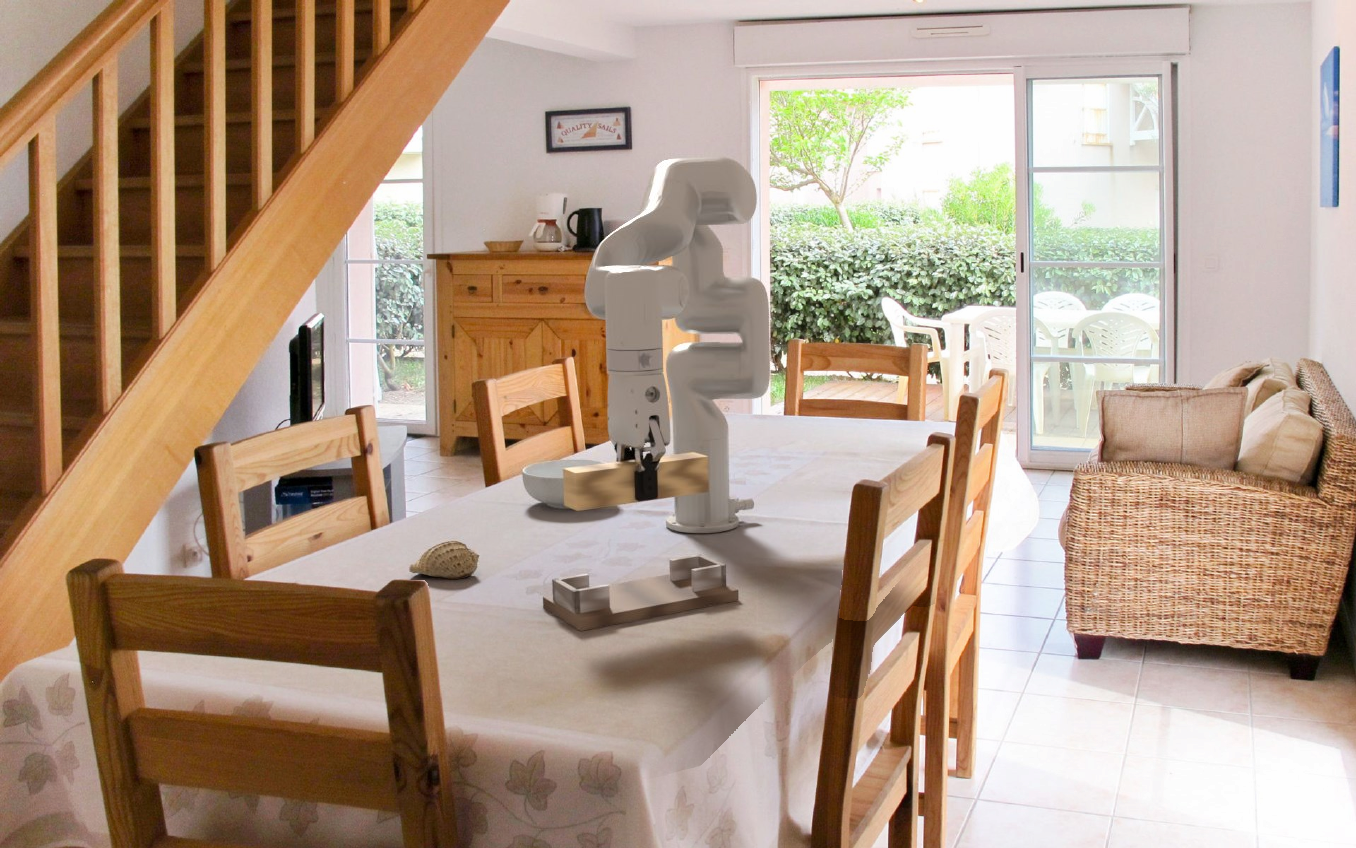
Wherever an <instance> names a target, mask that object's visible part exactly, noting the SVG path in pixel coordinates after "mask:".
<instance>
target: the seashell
mask: <svg viewBox="0 0 1356 848" xmlns="http://www.w3.org/2000/svg"><path fill="white" fill-rule="evenodd" d="M479 557H480V555H479V554H478V553H477V552H475V550H473V549H471V548H468V547H467V545H466V544H465V543H463V542H461V541H458V540H450V541H445V542H440V543H439V544H436V545H435V546H432V547H431V548H429V549H428V550H426V551H425V552H424V553H423V554H422V555H421V556H420V559H418V560H417V562H415V563H413V564H410V565H409V572H410V573H412V574H423V575H425V576H426V575H427V576H429V577H434V578H435V577H436V578H444V579H445V578H446V579H453V580H457V579H459V580H461V579H464V578H467V577H469V576H471V575H472V574H474V573H475V572H476V570H477V568H478V562H479Z"/></svg>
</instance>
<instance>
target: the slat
mask: <svg viewBox="0 0 1356 848" xmlns="http://www.w3.org/2000/svg"><path fill="white" fill-rule="evenodd" d="M634 471H638V470H637V463H636V459H635V460H627V461H619V462H616V461H613V462H605V463H603V464H595V465H587V466H579V467H571V468H563V482H564V505H565V506H567V507H569V508H570V509H572V510H574V511H575V512H576V511H577V512H579V511H586V510H593V509H600V508H606V507H613V506H614V507H615V506H621V505H628V504H635V503H642V502H649V501H655V500H662V499H668V498H669V499H670V498H674V497H678V496H685V495H692V494H699V493H706V492H709V471H708V456H705V455H702V454H698V453H694V452H691V453H683V454H675V455H673V454H668V455H663V456H662V458H661V459H660V461H659V469H658V470H657V475H658V497H657V498H656V499H651V500H644V501H637V500H636V499H635V475H634Z"/></svg>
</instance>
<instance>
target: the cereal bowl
mask: <svg viewBox="0 0 1356 848" xmlns="http://www.w3.org/2000/svg"><path fill="white" fill-rule="evenodd" d="M603 463H606V462H605V461H603V460H602V461H600V460H594V459H583V458H581V459H578V458H576V459H575V458H571V459H568V458H567V459H557V460H555V459H554V460H549V461H548V460H547V461H542V462H540V461H539V462H535V463H532V464H529V465H527V466H525V467H524V468H523V469H521V470H522V471H521V477H522V484H523V487H524V489H525V491H526V493H527V494H528V495H529V496H530V497H531V498H533V499H534V500H536V501H539V502H541V503H544V504H546V505H547V506H548V507H550V508H553V509H559V510H560V509H562V510H563V509H565V510H566V509H567V510H568V509H571V508H569V507H567V506H565V505H564V482H563V468H571V467H579V466H587V465H595V464H603Z"/></svg>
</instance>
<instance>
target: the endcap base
mask: <svg viewBox="0 0 1356 848" xmlns="http://www.w3.org/2000/svg"><path fill="white" fill-rule="evenodd" d="M668 560H669V562H668V563H669V574H663V575H659V576H653V577H646V578H641V579H636V580H629V581H624V582H619V583H612V584H599V585H595V586H590V574H588V573H581V574H576V575H569V576H562V577H559V578H553V579H551V585H552V587H551V588H552V594H551V595H550V594H549V595H545V596H542V607H543V608H544V609H545V610H547V611H548V612H550V613H551V614H553V615H555V616H556V617H558V618H559V619H561V620H563V621H564V622H566V623H567V624H569V625H571V626H572V627H574V628H576V630H578V631H580V632H582V631H587V630H593V629H599V628H602V627H603V628H604V627H608V626H614V625H618V624H619V625H620V624H623V623H628V622H629V623H630V622H634V621H639V620H643V619H649V618H654V617H659V616H665V615H670V614H675V613H681V612H685V611H691V610H695V609H699V608H700V609H701V608H706V607H711V606H715V605H716V606H717V605H721V604H726V603H731V602H732V603H733V602H736V601H737V600H738V601H739V589H738V588H735V587H733V586H731V585H729V584H727V564H724V563H722V562H720V561H717V560H715V559H713V558H710V557H708V556H705V555H704V554H702V553H697V554H693V555H688V556H681V557H675V558H670V559H668Z"/></svg>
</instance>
